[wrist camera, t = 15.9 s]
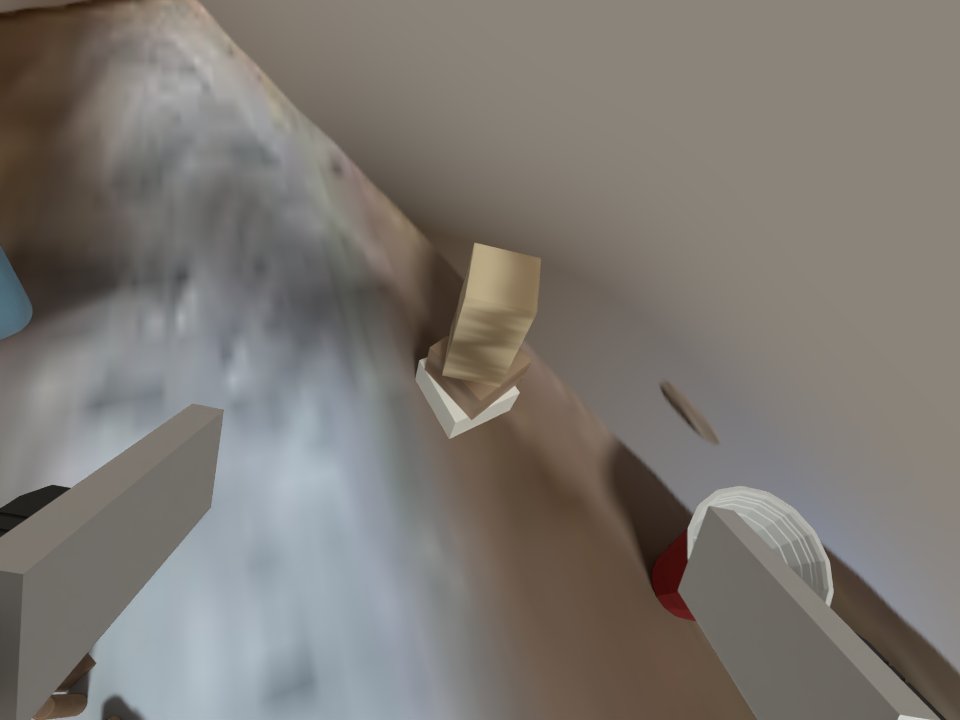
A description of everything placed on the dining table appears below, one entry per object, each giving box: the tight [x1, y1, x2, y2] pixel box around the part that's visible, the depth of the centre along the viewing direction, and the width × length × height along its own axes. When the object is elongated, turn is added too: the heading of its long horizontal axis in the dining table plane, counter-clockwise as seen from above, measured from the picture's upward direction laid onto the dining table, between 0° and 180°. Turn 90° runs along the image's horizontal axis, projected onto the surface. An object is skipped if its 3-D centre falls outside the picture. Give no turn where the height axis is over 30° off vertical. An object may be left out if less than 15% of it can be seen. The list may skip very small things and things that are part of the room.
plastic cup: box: [652, 486, 834, 621], centre depth 44 cm, size 11×11×12 cm
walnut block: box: [425, 334, 532, 420], centre depth 50 cm, size 6×6×4 cm
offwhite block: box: [415, 357, 519, 439], centre depth 53 cm, size 7×7×4 cm
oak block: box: [442, 243, 541, 387], centre depth 43 cm, size 5×5×11 cm
